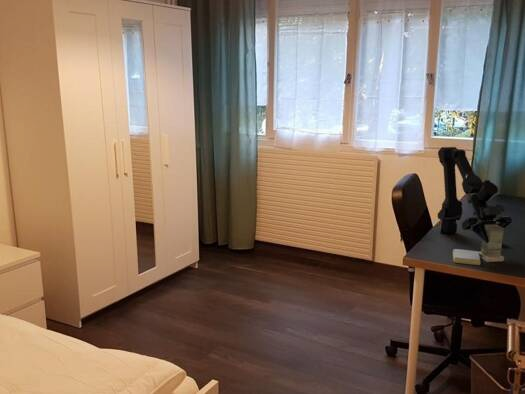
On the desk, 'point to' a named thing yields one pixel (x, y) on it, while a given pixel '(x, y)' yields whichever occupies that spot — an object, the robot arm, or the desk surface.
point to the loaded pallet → (492, 244)
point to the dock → (466, 257)
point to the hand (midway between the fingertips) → (494, 242)
